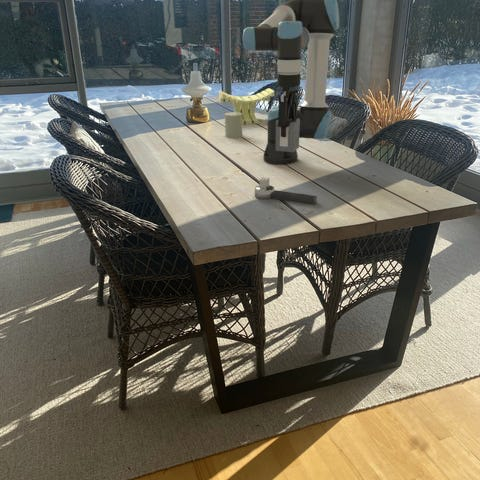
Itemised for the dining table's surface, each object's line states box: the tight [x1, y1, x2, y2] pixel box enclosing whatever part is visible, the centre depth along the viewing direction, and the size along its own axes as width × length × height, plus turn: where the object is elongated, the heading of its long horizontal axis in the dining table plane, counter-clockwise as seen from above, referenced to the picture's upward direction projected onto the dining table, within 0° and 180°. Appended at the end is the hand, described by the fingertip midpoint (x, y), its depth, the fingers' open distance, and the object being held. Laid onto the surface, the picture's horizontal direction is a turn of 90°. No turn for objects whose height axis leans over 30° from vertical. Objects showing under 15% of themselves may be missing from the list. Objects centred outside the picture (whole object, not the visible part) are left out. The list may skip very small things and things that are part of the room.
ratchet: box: [254, 176, 318, 206], centre depth 172 cm, size 7×22×6 cm, turn 65°
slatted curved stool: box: [218, 88, 275, 125], centre depth 288 cm, size 30×16×18 cm, turn 100°
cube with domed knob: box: [276, 118, 300, 152], centre depth 167 cm, size 6×6×10 cm
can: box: [224, 111, 243, 139], centre depth 256 cm, size 9×9×12 cm
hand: (287, 143), depth 168 cm, fingers closed on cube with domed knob, 6 cm apart
